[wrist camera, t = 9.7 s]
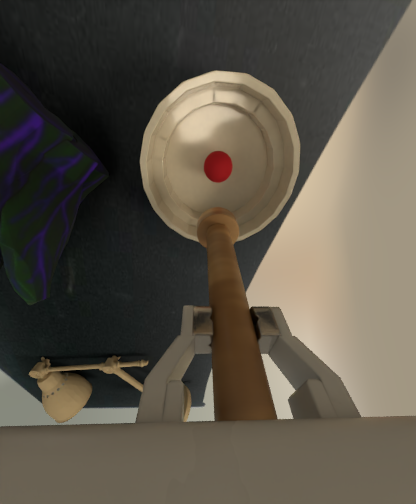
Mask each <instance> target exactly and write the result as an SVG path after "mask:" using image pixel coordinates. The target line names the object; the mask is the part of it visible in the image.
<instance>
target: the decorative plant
mask: <svg viewBox="0 0 416 504" xmlns="http://www.w3.org/2000/svg"><path fill="white" fill-rule="evenodd" d="M108 177H109V172H108V171H107V169H106V168H105V167H104V165H103V164H102V162H101V161H100V160H99V158H98V157H97V156H96V154H95V153H94V152H93V150H92V149H91V148H90V147H89V146H88V145H87V144H86V143H85V142H84V141H83V140H82V139H81V137H80V136H79V135H78V134H76V133H75V132H74V131H71V129H69V128H68V127H67V126H66V125H65V124H64V123H63V122H62V121H61V120H60V119H59V118H58V117H57V116H56V115H54V114H53V113H51V112H50V111H48V110H47V109H45V107H44V106H43V105H42V103H41V102H40V101H39V99H38V98H37V97H36V96H35V94H34V93H33V92H32V91H31V89H30V88H29V87H28V86H27V85H26V84H25V83H24V82H23V81H22V80H21V79H20V78H19V77H18V76H17V75H16V74H15V73H14V72H12V71H11V70H9V69H8V68H7V67H5V66H4V65H2V64H1V63H0V269H1V267H2V265H3V263H4V265H5V270H6V274H7V277H8V279H9V281H10V283H11V285H12V287H13V288H14V290H15V291H16V292H17V293H18V294H19V295H20V296H21V297H22V298H23V299H24V300H25V301H26V302H27V304H29V305H32V304H34V303H36V302H39V301H41V300H43V299H46V298H48V297H50V284H51V281H52V278H53V275H54V271H55V268H56V265H57V262H58V260H59V258H60V256H61V254H62V252H63V250H64V248H65V246H66V244H67V242H68V240H69V237H70V235H71V232H72V229H73V226H74V223H75V220H76V215H77V211H78V208H79V205H80V204H81V202H82V201H83V200H84V199H85V197H86V196H87V195H88V194H89V193H90V192H91V191H92V190H94V189H95V188H96V187H97V186H98V185H100V184H101V183H102V182H103V181H104V180H105V179H107V178H108Z"/></svg>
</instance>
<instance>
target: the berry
mask: <svg viewBox="0 0 416 504" xmlns="http://www.w3.org/2000/svg"><path fill="white" fill-rule="evenodd" d="M232 168H233V164H232V160H231V158H230V157H229V155H228V154H226V153H225V152H223V151H214V152H212V153H211V154H209V155H208V156H207V158H206V160H205V162H204V172H205V175H206V176H207V178H208V179H209V180H211V181H213V182H216V183H220V182H223V181H225V180H226V179H228V178H229V176H230V175H231V172H232Z"/></svg>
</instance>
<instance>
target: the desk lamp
mask: <svg viewBox="0 0 416 504" xmlns="http://www.w3.org/2000/svg"><path fill="white" fill-rule="evenodd" d="M118 359H120V357H116V356H112V358H109V357H108V359H107V361H106V362H105V363H103V362H101V363H100V364H91V365H76V366H61V367H51V366H50V365H51V364H50V363H49V361H50V360H49V359H45V358H44V357H42V358H41V360H42V362H39V363H37V364H36V365H35V367H34V368H33V369H32V370H31V371H30V373H29V375H30V376H31V377H33V378H38V380H37V383H38V386H39V387H40V388H41V390H42V402H43V407H44V409H45V411H46V412H47V414H49V416H51V417H52V418H53V419H55V421H56V422H58V423H63V422H65V421H68V420H69V419H71V418H72V417H74V416H75V415H76V414H77V413H78V412H79V411H80V410H81V409H82V408H83V406H84V405H85V404H86V402H87V401H88V399H89V397H90V395H91V392H92V385H91V383H89V382H88V381H87V380H86V379H85V378H84V377H83V376H81V375H79V374H75V373H69V372H67V373H60V372H59V371H67V370H82V369H97V368H99V370H103V372H105V373H108V374H110V373H113V372H114V374H117V375H118V376H120V377H121V378H122V379H124V380H125V381H127V382H128V383H130V384H131V385H133V386H134V387H135V388H137V389H138V390H140V391H141V392H142V391H143V386H144V385H142V384H141V383H140V382H138V381H137V380H136V379H134V378H133V377H131V376H130V375H129V374H127V373H126V372H124V371H123V370H122V369H120V367H128V366H141V367H143V366H144V365H147V364H148V361H144V360H141V361H140V360H139V361H134V362H121V361H118ZM190 407H191V395H190V391H189V389H188V388H187V386H185V385H184V422H186V421H187V418H188V415H189V412H190Z"/></svg>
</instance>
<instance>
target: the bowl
mask: <svg viewBox="0 0 416 504" xmlns="http://www.w3.org/2000/svg"><path fill="white" fill-rule="evenodd" d="M214 151H223V152H225V153H226V154H228V155H229V157H230V158H231V160H232V164H233V168H232V172H231V175H230V176H229V178H228V179H226V180H225V181H223V182H220V183H216V182H213V181H211V180H209V179H208V178H207V176H206V175H205V172H204V162H205V160H206V158H207V156H208V155H209V154H211V153H212V152H214ZM299 159H300V141H299V137H298V133H297V130H296V126H295V122H294V119H293V115H292V114H291V112H290V111H289V109H288V108H287V107H286V105H285V104H284V103H283V101H282V100H281V98H280V97H279V96H278V94H277V93H276V91H275V90H274V89H272V88H271V87H269V86H267V85H266V84H264V83H262V82H261V81H259V80H257V79H256V78H254V77H252V76H251V75H249V74H247V73H238V72H228V71H218V70H215V71H211V72H208V73H205V74H202V75H200V76H197V77H194V78H191V79H188V80H185V81H184V82H182V83H181V84H180V85H179V86H177V87H176V88H175V89H174V90H173V91H172V92H171V93H170V94H169V95H168V96H166V97H165V98H164V99H163V100H162V101H161V102H160V103H159V104H158V106H157V108H156V110H155V112H154V114H153V115H152V117H151V119H150V121H149V123H148V125H147V127H146V129H145V131H144V135H143V142H142V148H141V155H140V168H141V175H142V181H143V187H144V190H145V192H146V194H147V196H148V199H149V201H150V203H151V205H152V207H153V209H154V211H155V212H156V213H157V214H158V215H159V216H160V218H161V219H162V220H163V221H164V222H165V223H166V224H167V226H169V227H170V228H172V229H173V230H175V231H176V232H178V233H179V234H181V235H182V236H184V237H186V238H189V239H192V240H195V241H198V242H199V240H198V238H197V222H198V219H199V217H200V216H201V214H202V213H203V212H205V211H206V210H208V209H210V208H214V207H222V208H225V209H227V210H229V211H231V212H232V213H233V215H234V216H235V218H236V221H237V224H238V226H239V236H238V239H237V240H236V241H240V240H243V239H245V238H247V237H249V236H251V235H253V234H255V233H257V232H259V231H260V230H262V229H263V228H264V227H265V226H266V225H267V224H269V223H270V222H271V221H272V220H273V219H274V218H275V217H277V215H278V214H279V213H280V211H281V210H282V208H283V207H284V205H285V204H286V202H287V201H288V199H289V198H290V196H291V193H292V190H293V187H294V185H295V182H296V179H297V176H298V173H299Z"/></svg>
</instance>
